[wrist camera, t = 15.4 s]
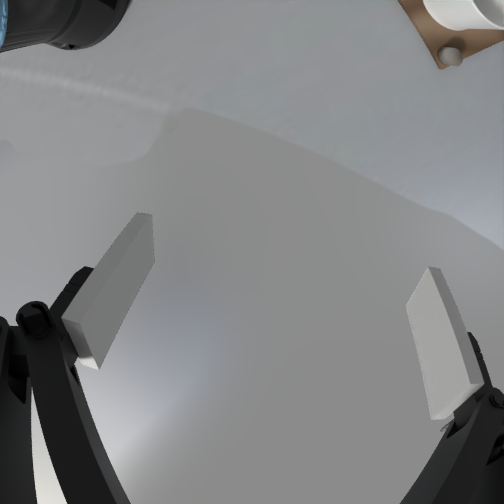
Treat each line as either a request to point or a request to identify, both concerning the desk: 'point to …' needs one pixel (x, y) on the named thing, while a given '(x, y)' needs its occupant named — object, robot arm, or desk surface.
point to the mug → (467, 13)
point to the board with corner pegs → (448, 36)
